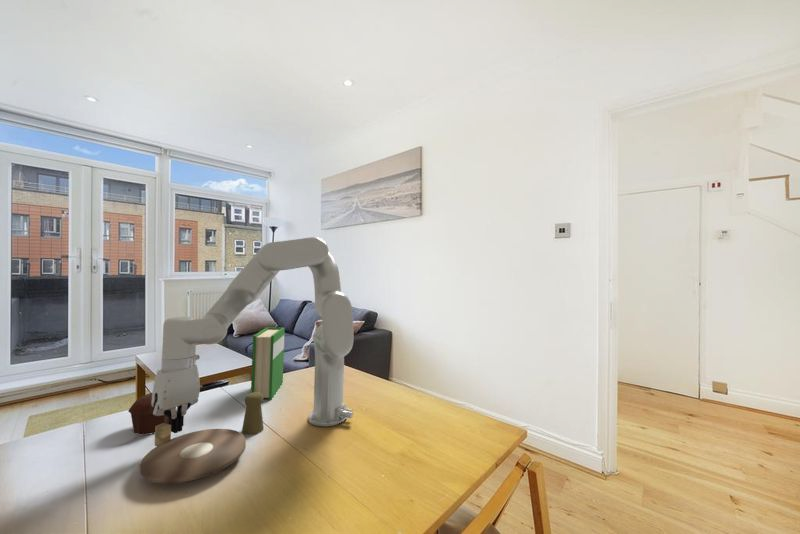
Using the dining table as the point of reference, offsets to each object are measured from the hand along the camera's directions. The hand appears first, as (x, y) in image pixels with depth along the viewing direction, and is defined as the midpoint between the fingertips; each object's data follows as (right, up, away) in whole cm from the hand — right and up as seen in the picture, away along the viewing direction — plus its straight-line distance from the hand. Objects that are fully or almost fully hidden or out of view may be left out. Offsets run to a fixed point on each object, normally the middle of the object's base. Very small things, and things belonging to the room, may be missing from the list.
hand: (175, 430), depth 86 cm
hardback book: (+8, -6, +41) cm, 42 cm away
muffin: (-14, -4, +10) cm, 18 cm away
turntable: (+9, -2, -7) cm, 12 cm away
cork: (+16, -5, +10) cm, 20 cm away
